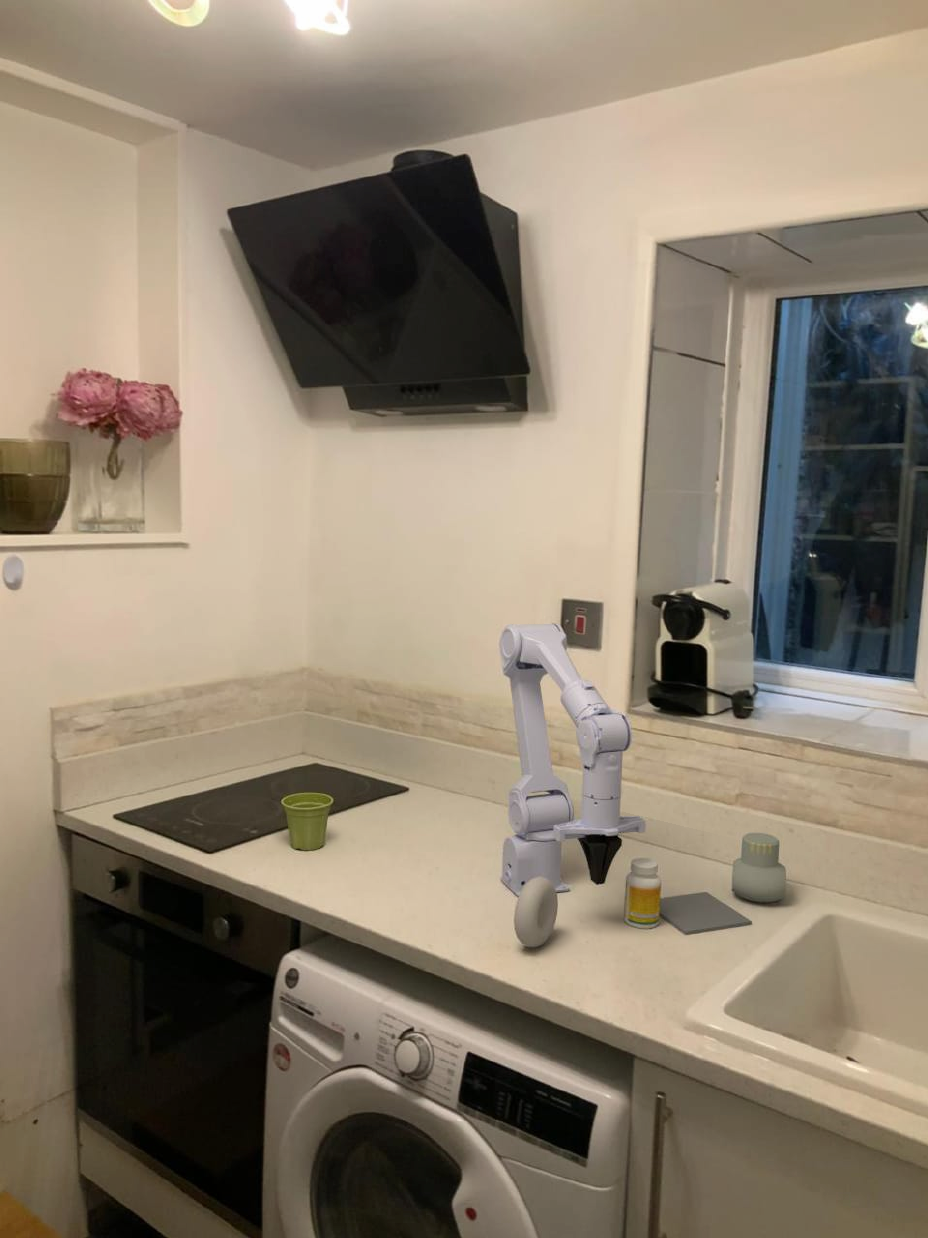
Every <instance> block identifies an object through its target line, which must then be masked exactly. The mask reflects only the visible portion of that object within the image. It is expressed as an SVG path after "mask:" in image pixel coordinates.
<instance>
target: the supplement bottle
mask: <svg viewBox="0 0 928 1238" xmlns="http://www.w3.org/2000/svg"><path fill="white" fill-rule="evenodd" d="M658 865H659V863H658V861H656V860H655V859H651V858H648V857H637V858H633V859H632V860H631V864H630V870H631V871H630V872H629V873H628V874H627V875H626V877H625V887H624V888H625V890H624V905H623V906H624V908H623V920H624V922H625V924H627V925H629V926H631V927H633V928H638V929H642V930H643V929H644V930H645V929H646V930H647V929H652V928H655V927H657V926H658V924H660V923H659V922H660V916H659V912H660V898H661V890H662V879H661V878H660V876H659V875H658V874H657V872H658V871H659V870H658V869H659V866H658Z"/></svg>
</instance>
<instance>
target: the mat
mask: <svg viewBox="0 0 928 1238" xmlns="http://www.w3.org/2000/svg"><path fill="white" fill-rule="evenodd" d="M659 917H661V918H662V919H663V920H665V921H666V922H667V923H669V924H670V925H671V926H672V927H674V928H675V929H677V930H678V931H680V933H682V934H684V935H685V936H687V935H694V934H699V933H706V932H711V931H712V932H713V931H718V930H724V929H730V928H731V929H733V928H737V927H738V928H739V927H744V926H749V925H750V926H751V925H752V924H753V921H752V920H751V919H749V918H748V917H746V916H744V915H743V914H742V913H740V912H738V911H736V910H735V909H734V908H732V907H731V906H729V905H728V904H726V903H724V902H723V901H721V900H720V899H718V898H717V897H715V896H714V895H712V894H710V893H709V892H707V891H702V892H695V893H689V894H683V895H682V894H680V895H673V896H667V897H666V896H665V897H660V912H659Z"/></svg>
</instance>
